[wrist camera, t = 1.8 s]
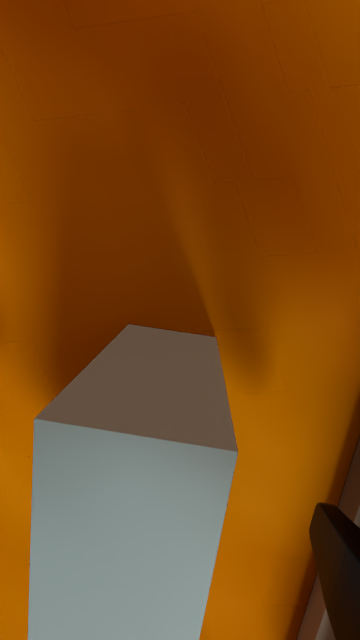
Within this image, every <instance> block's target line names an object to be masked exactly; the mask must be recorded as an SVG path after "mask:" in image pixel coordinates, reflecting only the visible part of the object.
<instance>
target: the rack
mask: <svg viewBox="0 0 360 640" xmlns="http://www.w3.org/2000/svg"><path fill="white" fill-rule="evenodd" d="M338 508H339V509H340V510H341V511H342V512H343V513H344V514H345V515H346V516H347V517H348V518H350V519H351V520H352V521H353V522H354V523H355V524H356V525H357V526H358V527H359V528H360V437H359V440H358V444H357V447H356V450H355V453H354V457H353V460H352V463H351V466H350V469H349V473H348V476H347V479H346V482H345V486H344V489H343V492H342V495H341V499H340V502H339V505H338ZM297 640H335V637H334V634H333V630H332V627H331V624H330V621H329V617H328V614H327V611H326V607H325V603H324V599H323V594H322V590H321V585H320V581H319V576H318V573H317V576H316V579H315V582H314V586H313V589H312V592H311V595H310V599H309V602H308V605H307V608H306V612H305V615H304V618H303V621H302V624H301V628H300V631H299V634H298V637H297Z"/></svg>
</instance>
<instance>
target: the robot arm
mask: <svg viewBox="0 0 360 640" xmlns="http://www.w3.org/2000/svg"><path fill="white" fill-rule="evenodd" d="M309 534H310V540H311V545H312V549H313V554H314V558H315V563H316V567H317V572H318V576H319V581H320V585H321V590H322V594H323V599H324V603H325V607H326V611H327V614H328V617H329V621H330V624H331V627H332V630H333V634H334V637H335V640H360V528H359V527H358V526H357V525H356V524H355V523H354V522H353V521H352V520H351V519H350V518H348V517H347V516H346V515H345V514H344V513H343V512H342V511H341V510H340V509H339V508H338V507H336V506H335V505H333V504H328V503H322V502H320V503H317V505H316V507H315V510H314V514H313V517H312V521H311V524H310V529H309Z"/></svg>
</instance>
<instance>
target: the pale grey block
mask: <svg viewBox="0 0 360 640" xmlns="http://www.w3.org/2000/svg"><path fill="white" fill-rule="evenodd" d="M237 454H238V450H237V444H236V439H235V434H234V429H233V423H232V418H231V413H230V407H229V402H228V397H227V392H226V386H225V381H224V376H223V370H222V365H221V360H220V355H219V349H218V344H217V339H216V337H211V336H204V335H197V334H191V333H184V332H177V331H171V330H164V329H158V328H151V327H144V326H138V325H131V324H128V325H127V326H126V327H125V328H124V329H123V330H122V331H121V332H120V333H119V334H118V335H117V336H116V337H115V338H114V339H113V340H112V341H111V342H110V343H109V344H108V345H107V346H106V347H105V348H104V349H103V350H102V351H101V352H100V353H99V354H98V355H97V356H96V357H95V358H94V359H93V360H92V361H91V362H90V363H89V364H88V365H87V366H86V367H85V368H84V369H83V370H82V371H81V372H80V373H79V374H78V375H77V376H76V377H75V378H74V379H73V380H72V381H71V382H70V383H69V384H68V385H67V386H66V387H65V388H64V389H63V390H62V391H61V392H60V393H59V394H58V395H57V396H56V397H55V399H54V400H53V401H52V402H51V403H50V404H49V405H48V406H47V407H46V408H45V409H44V410H43V411H42V412H41V413H40V414H39V415H38V416H37V417H36V418H35V419H34V445H33V479H32V514H31V549H30V583H29V618H28V640H199V637H200V632H201V627H202V622H203V618H204V613H205V608H206V603H207V598H208V594H209V589H210V584H211V579H212V574H213V569H214V565H215V560H216V555H217V550H218V545H219V541H220V536H221V531H222V526H223V521H224V517H225V512H226V507H227V502H228V497H229V492H230V488H231V483H232V478H233V473H234V468H235V464H236V459H237Z"/></svg>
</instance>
